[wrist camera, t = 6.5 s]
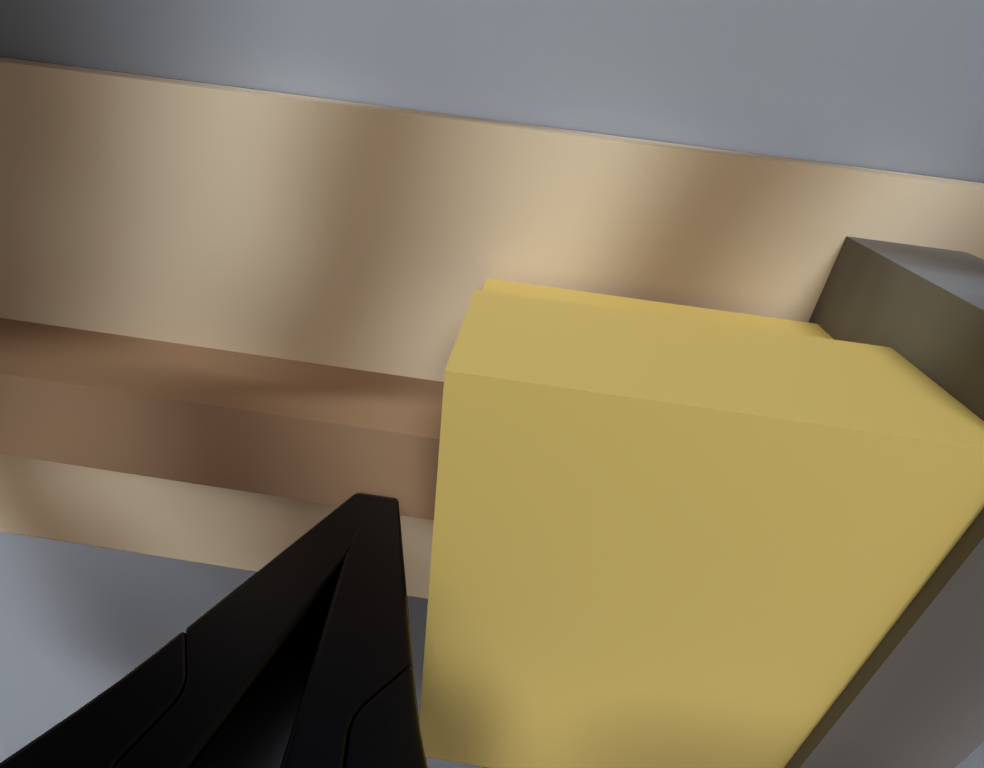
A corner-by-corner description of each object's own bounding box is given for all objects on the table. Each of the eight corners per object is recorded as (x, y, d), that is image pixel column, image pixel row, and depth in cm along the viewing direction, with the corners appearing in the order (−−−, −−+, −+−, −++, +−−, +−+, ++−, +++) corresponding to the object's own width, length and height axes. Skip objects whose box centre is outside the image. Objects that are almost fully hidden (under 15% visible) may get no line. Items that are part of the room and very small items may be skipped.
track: (988, 183, 9) (1526, 315, 4) (749, 619, 15) (848, 893, 10) (-251, 24, 10) (-1090, -31, 5) (-16, 499, 16) (-285, 698, 11)
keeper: (828, 297, 9) (1024, 454, 5) (693, 598, 13) (750, 811, 9) (489, 251, 10) (443, 370, 6) (456, 561, 14) (416, 755, 10)
